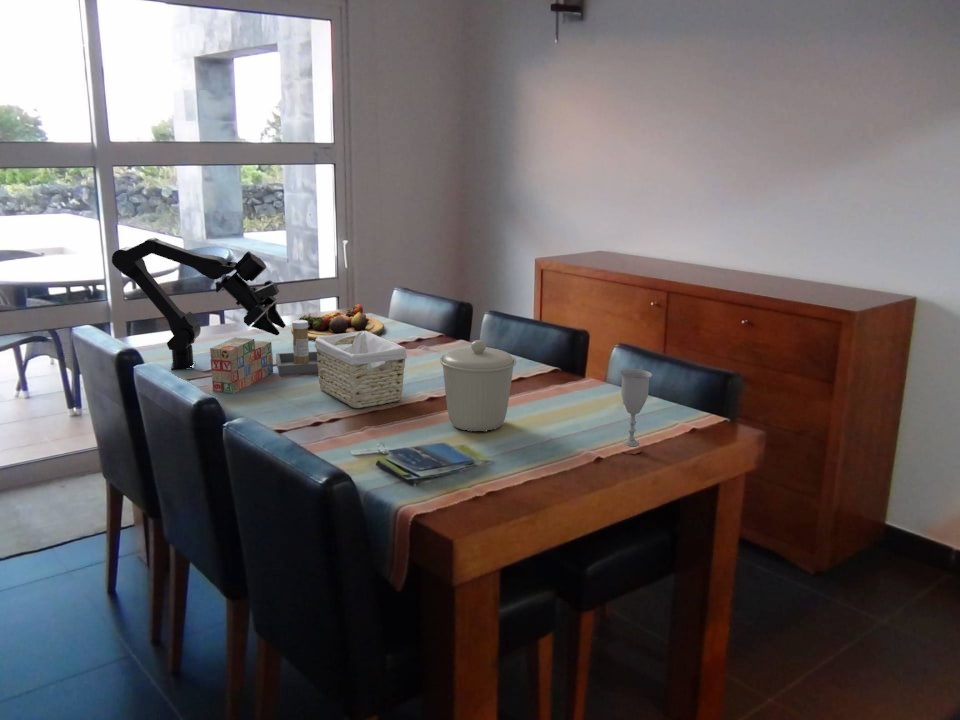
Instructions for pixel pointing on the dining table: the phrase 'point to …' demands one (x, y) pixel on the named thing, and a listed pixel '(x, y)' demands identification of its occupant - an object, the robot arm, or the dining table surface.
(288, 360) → the box
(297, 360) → the sprinkles bottle
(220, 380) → the stack of blocks
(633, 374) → the chalice
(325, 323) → the wooden plate with food
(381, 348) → the storage basket
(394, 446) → the dining table surface
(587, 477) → the dining table surface
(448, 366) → the canister
